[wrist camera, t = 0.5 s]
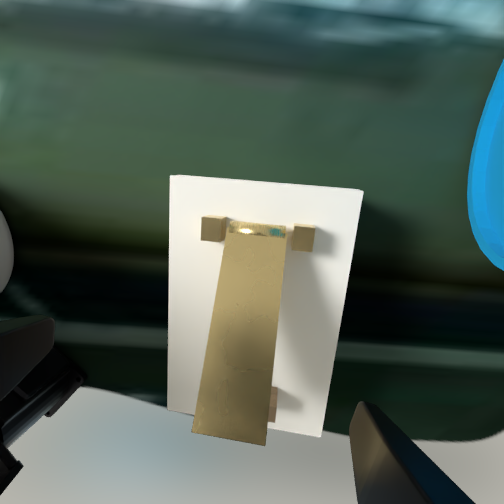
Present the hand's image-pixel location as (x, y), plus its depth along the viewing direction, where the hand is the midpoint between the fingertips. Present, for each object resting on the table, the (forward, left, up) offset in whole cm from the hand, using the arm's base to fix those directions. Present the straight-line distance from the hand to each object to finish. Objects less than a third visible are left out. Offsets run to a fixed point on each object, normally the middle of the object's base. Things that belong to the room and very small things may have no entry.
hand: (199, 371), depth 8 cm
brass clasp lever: (0, -1, -5) cm, 5 cm away
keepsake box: (-1, -2, -13) cm, 13 cm away
